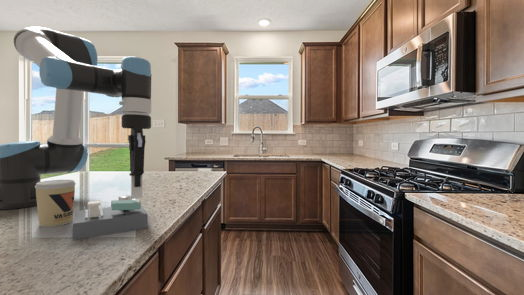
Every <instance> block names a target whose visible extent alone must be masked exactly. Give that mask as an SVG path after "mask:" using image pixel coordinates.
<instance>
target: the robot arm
mask: <svg viewBox="0 0 524 295" xmlns="http://www.w3.org/2000/svg"><path fill="white" fill-rule="evenodd" d="M13 46H14V48H15V50H16V51H17V53H18V54H20V56H22V57H23V58H24V59H26V60H28V61H31V62H33V63H34V64H35V65H36V66H38V68H39V74H38V75H39V78H40V81H41V84H43V85H44V86H46V87H50V88H53V89H54V88H55V100H54V115H53V125H52V126H53V128H52V135H51V136H49V137H48V138H47V140H46V143H44V144H43V143H42V144H41V141H40V140H26V141H17V142H7V143H3V144H0V210H15V209H23V208H24V209H25V208H29V207H34V206H37V199H36V188H35V186H36V183H38V182H42V180H41V177H42V176H41V175H47V174H48V175H49V174H51V175H52V174H61V173H62V174H64V173H67V174H68V173H73V172H78V171H81V170H83V168H84V167H85V166H86V164H87V162H88V156H89V154H88V147H87V145H85V144H84V141H83V139H81V138H80V130H81V119H82V110H83V108H82V107H83V98H84V93H92V94H98V95H99V94H100V95H105V96H106V97H110V98H121V101H119V104H118V105H119V106H121V113H123V114H122V115H121V127H122V128H123V129H128V130H129V129H130V134H129V135H127V136H128V137H127V141H128V150H129V167H130V168H129V171H130V173H129V176H130V190H131V191H130V196H131V198H132V200H136V199H141V198H143V174H144V173H145V168H144V166H145V150H146V147H145V146H146V142H147V141H146V135H144V130H149V129H151V128H152V117H151V116H150V115H151V114H152V75H153V74H152V67H151V62H150V61H149V60H147V59H146V58H141V57H138V56H125V57H123V58H122V59H121V63H120V69H112V68H107V67H102V66H98V52H97V49H96V47H95V45H94V43H93V42H92V41H90V40H88V39H87V38H86V39H85V38H82V37H80V36H76V35H73V34H70V33H65V32H61V31H58V30H53V29H51V28H47V27H42V26H30V27H29V26H28V27H24V28H22V29H20V30H18V31H17V32H16V33H15V34H14V37H13Z"/></svg>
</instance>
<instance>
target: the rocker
mask: <svg viewBox="0 0 524 295" xmlns="http://www.w3.org/2000/svg"><path fill="white" fill-rule="evenodd" d="M110 204H111V205H110V207H111V209H112V210H136V209H141V206H142V202H141V200H140V198H135V199H132V200H119V199H118V200H115V199H114V200H111V202H110Z"/></svg>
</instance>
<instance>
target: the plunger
mask: <svg viewBox="0 0 524 295" xmlns="http://www.w3.org/2000/svg"><path fill="white" fill-rule="evenodd" d="M118 200H133V199H132V198H131V195H120V196H119V197H118Z"/></svg>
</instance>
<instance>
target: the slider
mask: <svg viewBox="0 0 524 295" xmlns="http://www.w3.org/2000/svg"><path fill="white" fill-rule="evenodd" d="M101 204H102V202H101V200H93V201H87V207H89V210H90V218H91V217H99V208H100V206H102V205H101Z"/></svg>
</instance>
